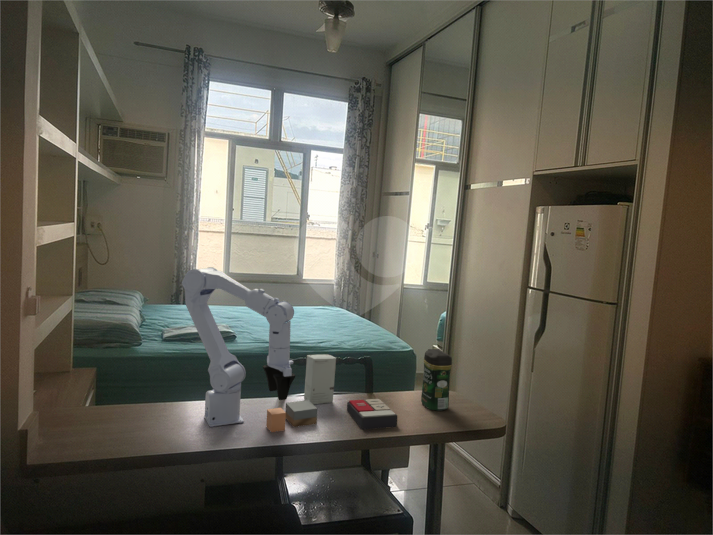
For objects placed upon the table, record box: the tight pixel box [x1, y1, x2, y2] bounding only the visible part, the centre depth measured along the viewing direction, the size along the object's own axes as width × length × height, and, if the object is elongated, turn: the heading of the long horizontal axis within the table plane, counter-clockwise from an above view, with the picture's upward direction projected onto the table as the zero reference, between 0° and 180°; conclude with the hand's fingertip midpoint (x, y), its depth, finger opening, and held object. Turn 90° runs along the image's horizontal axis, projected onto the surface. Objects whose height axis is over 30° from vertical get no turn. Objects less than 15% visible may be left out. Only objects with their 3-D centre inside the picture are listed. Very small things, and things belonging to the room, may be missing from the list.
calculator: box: [346, 398, 398, 430], centre depth 143 cm, size 11×4×15 cm
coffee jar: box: [420, 348, 453, 412], centre depth 155 cm, size 10×8×19 cm
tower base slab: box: [284, 410, 318, 428], centre depth 137 cm, size 7×7×2 cm
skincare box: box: [303, 354, 337, 406], centre depth 154 cm, size 8×6×15 cm
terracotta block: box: [265, 407, 287, 433], centre depth 131 cm, size 4×4×5 cm
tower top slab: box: [285, 399, 318, 420], centre depth 137 cm, size 7×7×2 cm
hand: (277, 394), depth 131 cm, fingers open, 7 cm apart
